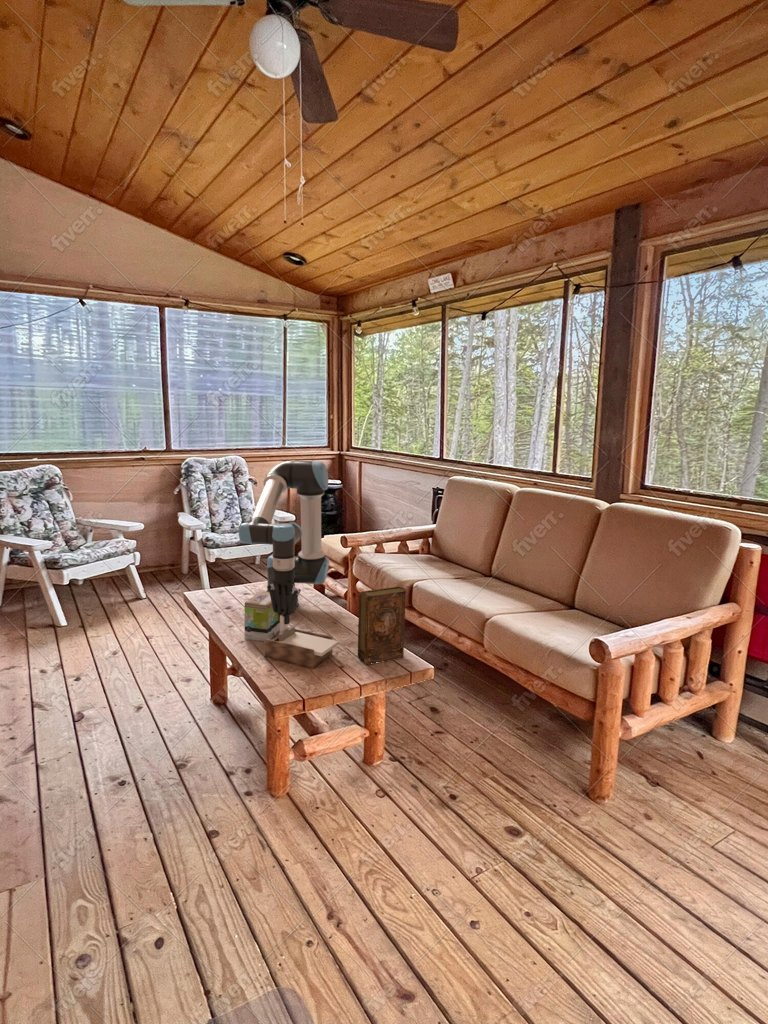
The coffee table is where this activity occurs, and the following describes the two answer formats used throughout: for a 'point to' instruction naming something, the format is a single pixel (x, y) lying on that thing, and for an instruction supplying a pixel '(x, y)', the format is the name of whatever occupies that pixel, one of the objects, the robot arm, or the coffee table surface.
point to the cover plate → (307, 641)
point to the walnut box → (294, 652)
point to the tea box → (260, 618)
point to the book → (381, 624)
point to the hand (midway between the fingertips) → (283, 632)
